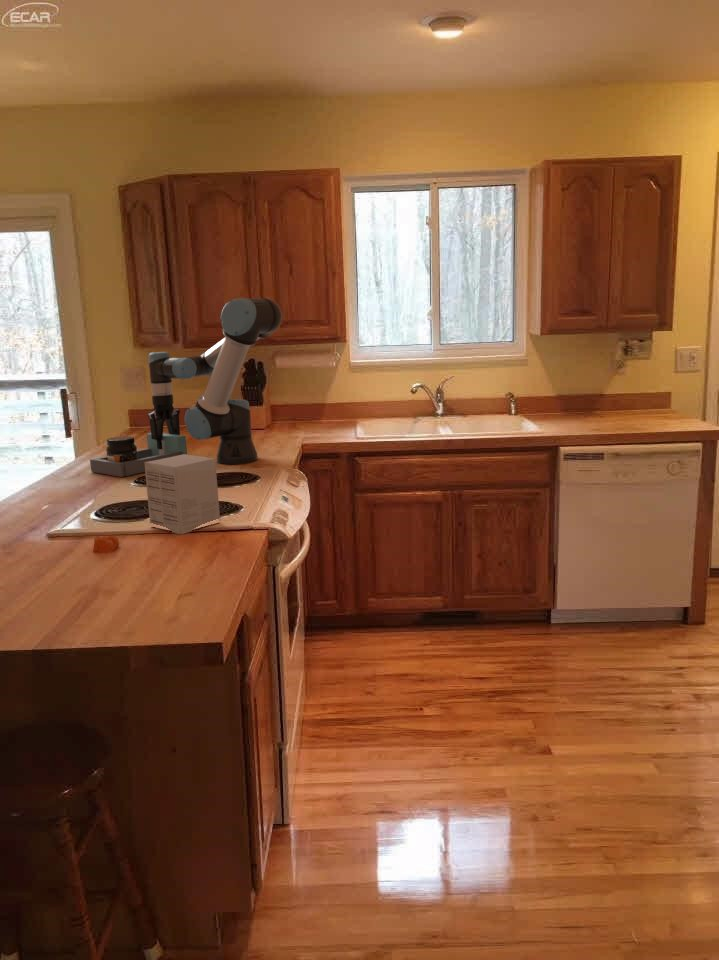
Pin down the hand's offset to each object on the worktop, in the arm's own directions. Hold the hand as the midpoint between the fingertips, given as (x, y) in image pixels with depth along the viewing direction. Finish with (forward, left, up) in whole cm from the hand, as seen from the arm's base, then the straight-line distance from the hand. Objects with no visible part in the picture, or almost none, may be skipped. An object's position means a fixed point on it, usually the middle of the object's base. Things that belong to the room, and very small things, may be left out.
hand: (167, 456), depth 294 cm
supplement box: (-77, +55, -2) cm, 95 cm away
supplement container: (0, +20, -2) cm, 20 cm away
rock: (-78, +79, -3) cm, 111 cm away
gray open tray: (0, +13, -2) cm, 13 cm away
